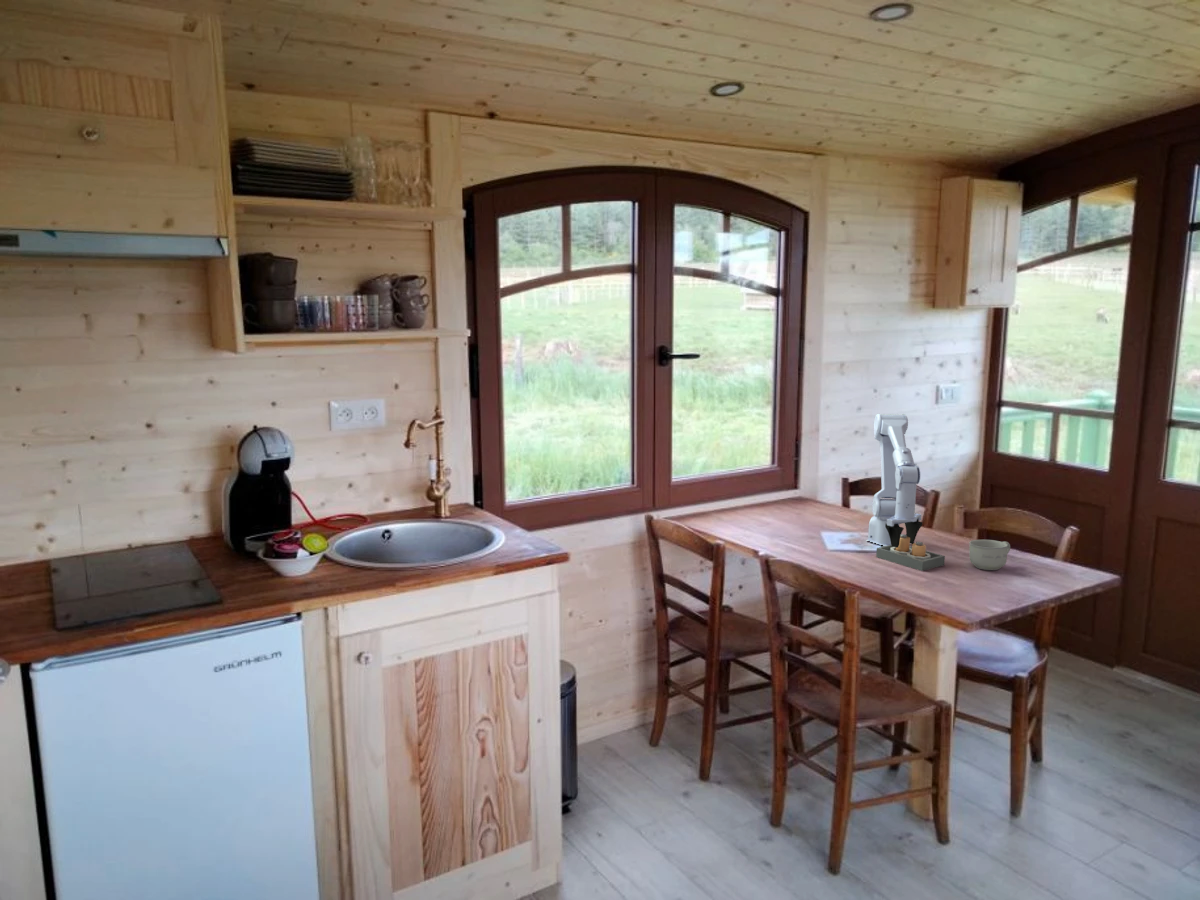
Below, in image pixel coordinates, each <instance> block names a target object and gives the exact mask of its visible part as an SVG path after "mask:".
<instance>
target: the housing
mask: <svg viewBox="0 0 1200 900" xmlns="http://www.w3.org/2000/svg"><path fill="white" fill-rule="evenodd" d="M875 557H876V558H878V559H881V560H885V561H889V562H891V563H894V562H895V563H894V564H897V563H898V565H900V566H905V567H908V568H910V567H911V569H914V568H915V569H914V570H917V569H918V570H917V571H921V572H925V571H927V570H931V568H932V569H935V567H936V568H940V567H943V566H945V560H946V556H945V555H942V554H939V553H936V552H932V551H929V550H927V545H926V544H924V542H923V541H916V542H914V543H913V544H911V545H910V547H909V552H899V551H896V547H893V546H891V545H888V546H879V547H876V554H875Z"/></svg>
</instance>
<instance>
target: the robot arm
mask: <svg viewBox="0 0 1200 900" xmlns="http://www.w3.org/2000/svg"><path fill="white" fill-rule="evenodd" d="M908 421H909V420H908V416H907V415H906V414H904V413H903V414H885V413H883V414H882V413H877V414H876V415H875V417H874V421H873V435H874V439H875V440H877V441H878V442H879V448H880V452H879V453H880V454H879V455H880V478H881V483H880V484H881V489H880V490H879V491H878V492H876V493H875V494H874V495H873V497H872V499H873V501H872V516H871V518H870V520H869V522H868V536H867V539H866V540H865V541H866V542H867V541H870V542H873V543H872V544H874V543H876V544H875V545H877V544H881V545H883V546H888V545H891V546H893V547H896V548H897V547H898V546H899V542H900V536H901V534H903V531H904V527H902V526H900V525H901V524H904V526H905V531H906V533H905V535H907V537H910V545H912V544H914V543H915V540H916V537H917V535H918V532H919V531H920V529H921V528H922V526H923V522H922V514H921V513H917V512H916V513H915V510H916V501H917V500H916V499H917V498H916V497H917V485H918V484H919V483H920V480H921V468H920V466H919V465H917V463H915V461H914V458H913V455H912V451H911V449H910V448H909V447H907V444H906V438H905V435H906V433H907V430H908V427H909V422H908ZM870 542H869V543H870ZM881 545H880V546H881ZM883 546H882V547H883Z"/></svg>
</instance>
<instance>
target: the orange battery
mask: <svg viewBox="0 0 1200 900" xmlns="http://www.w3.org/2000/svg"><path fill="white" fill-rule="evenodd" d="M910 546H911V543H910V537H907V535H906V533H905V534H904V533H901V536H900V542H899V546H898V547H897V548H896V551H899V552H909V547H910Z"/></svg>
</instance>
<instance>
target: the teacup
mask: <svg viewBox="0 0 1200 900" xmlns="http://www.w3.org/2000/svg"><path fill="white" fill-rule="evenodd" d="M968 543H969V550H968V551H969V553H968V555H969V561H970V563H971V564H972V565H973V566H974V567H975V568H977V569H979V570H982V571H983V570H984V571H998V570H1000V569H1001V568H1003V567H1005V565H1006V563H1007V560H1008V554H1009V553H1010V551H1011V544H1010V543H1009V542H1008V541H999V540H994V539H973V540H970V541H969V542H968Z"/></svg>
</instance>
